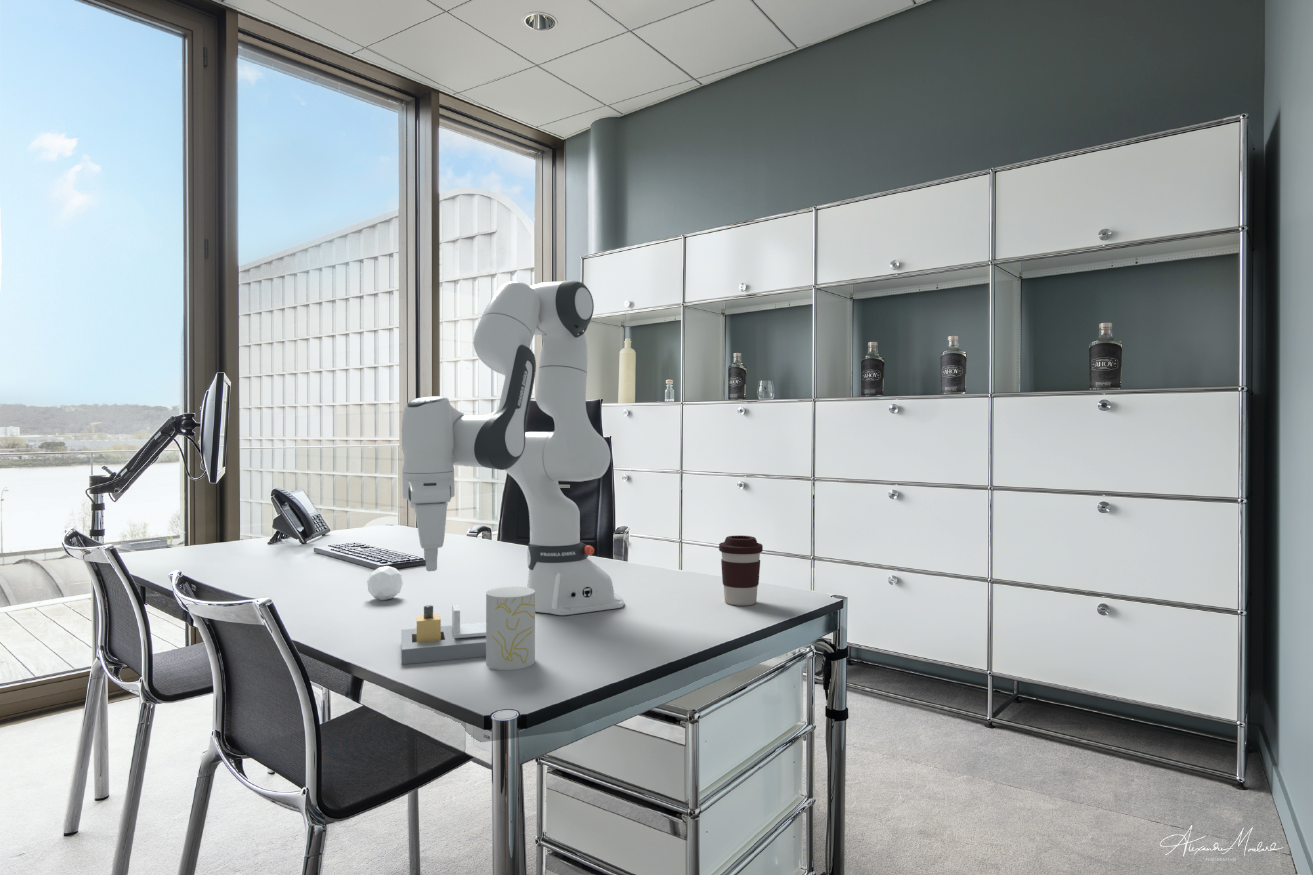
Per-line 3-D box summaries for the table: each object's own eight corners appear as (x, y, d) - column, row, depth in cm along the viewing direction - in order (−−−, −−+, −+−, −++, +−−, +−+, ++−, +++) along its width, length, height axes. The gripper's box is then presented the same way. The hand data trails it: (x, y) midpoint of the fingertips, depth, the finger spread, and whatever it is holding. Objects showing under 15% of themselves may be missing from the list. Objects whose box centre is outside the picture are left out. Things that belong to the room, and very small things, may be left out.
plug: (416, 649, 133) (416, 604, 133) (439, 646, 134) (439, 603, 134) (416, 655, 129) (416, 609, 129) (440, 653, 130) (440, 608, 130)
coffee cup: (732, 595, 176) (732, 533, 176) (769, 601, 171) (770, 536, 170) (710, 603, 168) (710, 537, 168) (749, 610, 162) (749, 541, 162)
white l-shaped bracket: (451, 628, 136) (451, 603, 136) (487, 625, 138) (487, 600, 138) (454, 638, 130) (454, 612, 130) (492, 635, 132) (492, 609, 132)
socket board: (401, 643, 136) (401, 629, 136) (484, 635, 141) (484, 622, 141) (401, 664, 124) (401, 649, 124) (492, 655, 129) (492, 641, 129)
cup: (493, 672, 120) (493, 599, 120) (480, 658, 127) (480, 589, 127) (541, 665, 124) (541, 594, 124) (526, 652, 131) (526, 585, 131)
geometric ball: (392, 608, 173) (413, 579, 176) (382, 604, 166) (404, 573, 168) (366, 591, 174) (387, 563, 177) (355, 586, 167) (377, 556, 170)
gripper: (409, 483, 140) (410, 555, 141) (411, 494, 121) (412, 578, 121) (443, 481, 142) (445, 553, 143) (451, 492, 123) (452, 575, 123)
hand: (430, 564), depth 132 cm, fingers open, 8 cm apart
